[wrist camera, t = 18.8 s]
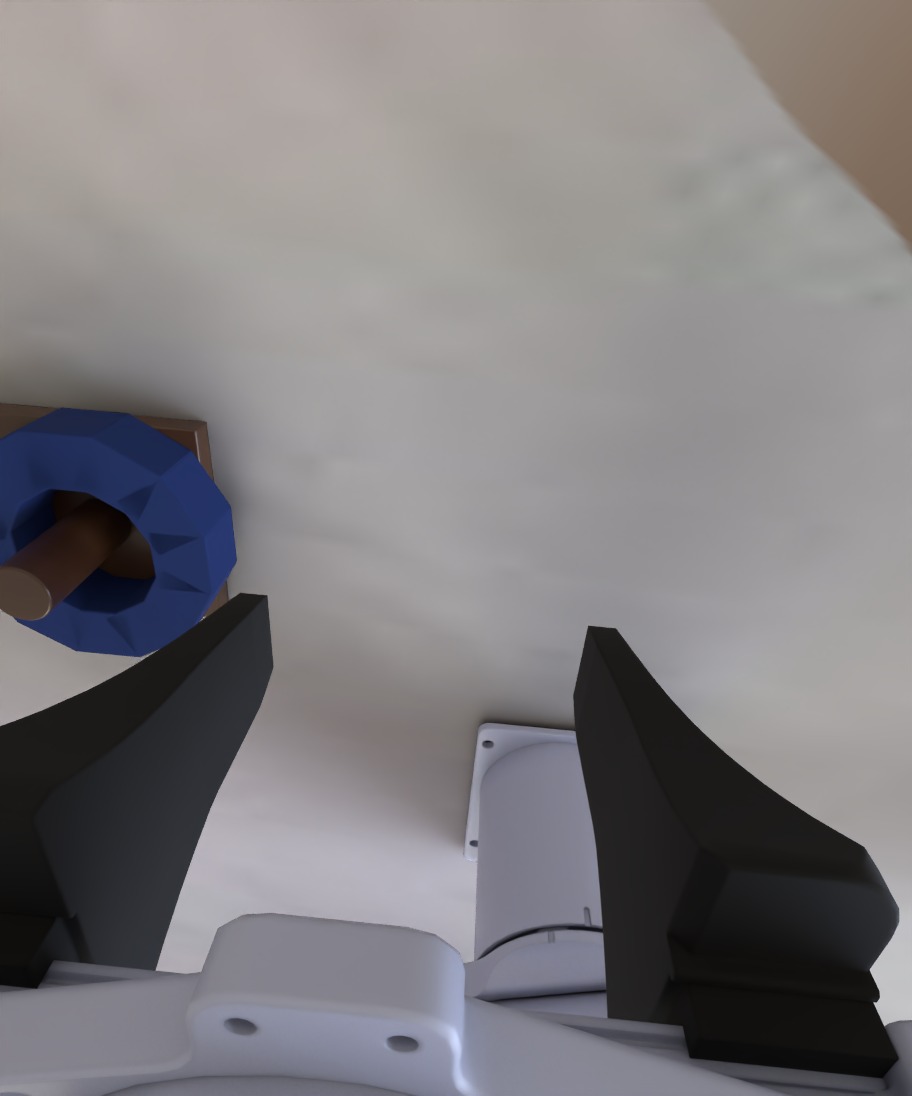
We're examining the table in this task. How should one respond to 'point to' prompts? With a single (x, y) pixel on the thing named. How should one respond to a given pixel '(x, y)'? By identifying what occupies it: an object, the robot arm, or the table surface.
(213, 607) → the stand
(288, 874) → the table surface
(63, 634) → the ring
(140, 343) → the table surface
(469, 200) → the table surface
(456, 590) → the table surface
